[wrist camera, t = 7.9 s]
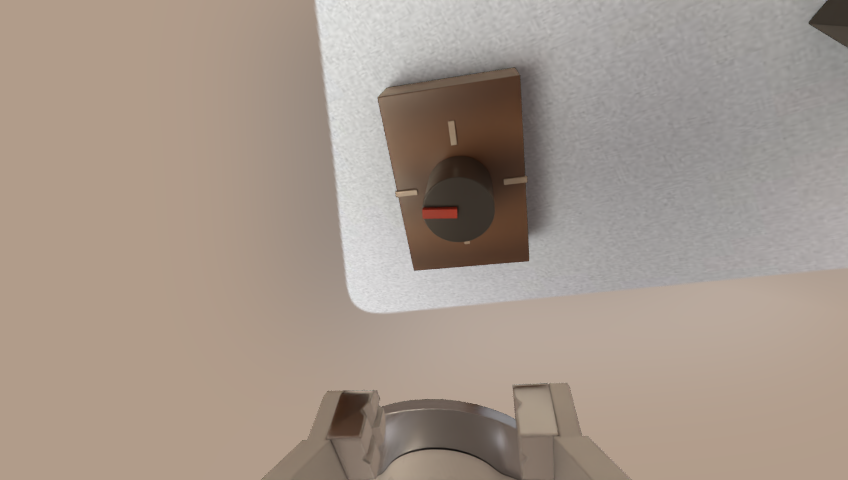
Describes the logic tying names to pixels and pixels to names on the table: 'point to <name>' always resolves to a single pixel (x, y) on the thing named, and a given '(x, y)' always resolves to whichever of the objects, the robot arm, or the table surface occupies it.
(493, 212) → the knob
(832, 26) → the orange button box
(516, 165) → the walnut panel
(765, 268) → the table surface
